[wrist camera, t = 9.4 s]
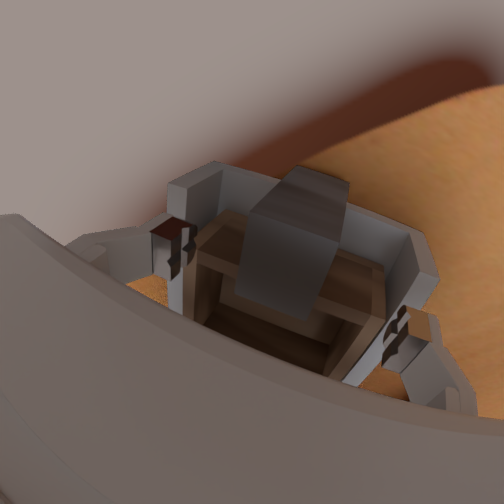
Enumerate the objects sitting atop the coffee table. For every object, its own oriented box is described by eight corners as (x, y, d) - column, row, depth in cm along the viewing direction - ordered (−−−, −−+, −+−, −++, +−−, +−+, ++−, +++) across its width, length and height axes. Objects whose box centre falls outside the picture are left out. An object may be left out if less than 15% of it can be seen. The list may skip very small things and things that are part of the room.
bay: (311, 402, 27) (299, 440, 23) (197, 355, 30) (175, 388, 26) (423, 232, 14) (440, 279, 10) (213, 160, 17) (167, 183, 13)
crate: (336, 346, 20) (317, 425, 14) (213, 298, 22) (166, 362, 16) (411, 207, 13) (439, 282, 7) (234, 148, 15) (156, 182, 10)
